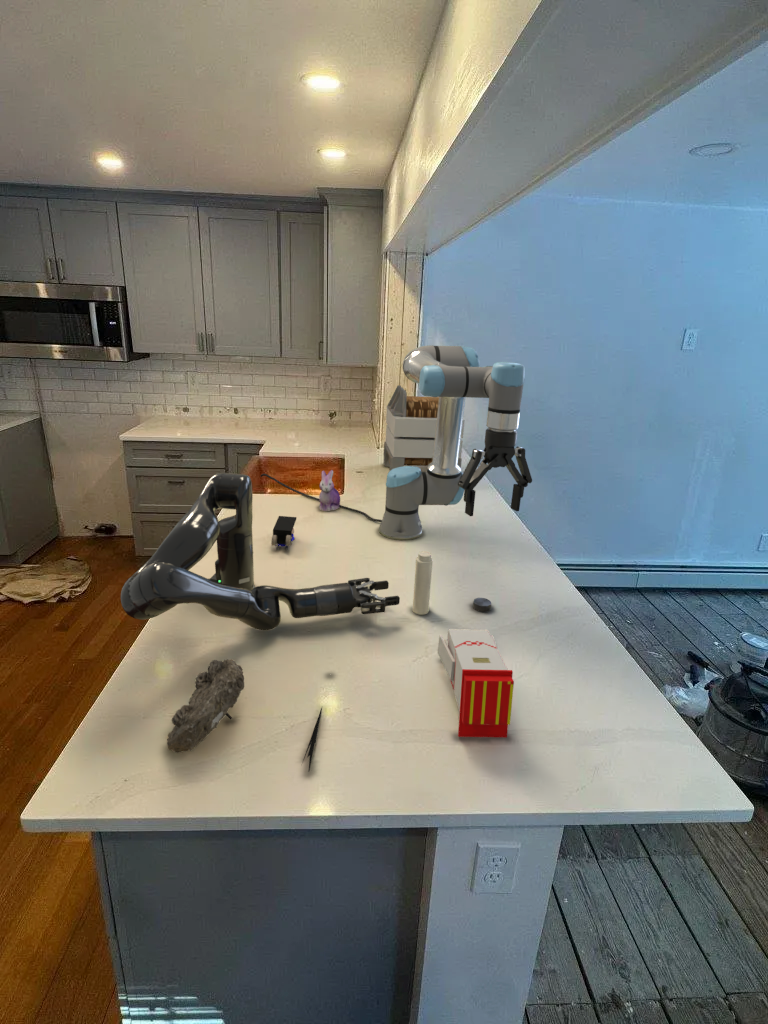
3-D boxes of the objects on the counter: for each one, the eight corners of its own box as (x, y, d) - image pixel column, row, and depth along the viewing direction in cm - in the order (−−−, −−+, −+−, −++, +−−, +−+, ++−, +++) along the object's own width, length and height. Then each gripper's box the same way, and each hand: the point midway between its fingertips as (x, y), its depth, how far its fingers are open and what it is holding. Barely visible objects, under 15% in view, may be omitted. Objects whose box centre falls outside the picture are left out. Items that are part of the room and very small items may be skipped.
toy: (488, 613, 130) (523, 677, 101) (484, 667, 133) (517, 744, 104) (435, 612, 130) (455, 676, 101) (432, 666, 133) (451, 743, 103)
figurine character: (291, 556, 181) (297, 534, 194) (291, 536, 177) (297, 514, 191) (270, 556, 181) (278, 533, 194) (269, 535, 177) (277, 513, 191)
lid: (469, 605, 153) (469, 600, 153) (482, 601, 156) (482, 596, 155) (481, 613, 150) (481, 607, 149) (494, 609, 152) (495, 603, 151)
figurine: (322, 513, 216) (323, 475, 211) (313, 504, 224) (313, 468, 219) (345, 510, 220) (346, 473, 215) (335, 502, 229) (335, 466, 223)
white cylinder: (430, 614, 148) (435, 556, 143) (414, 615, 147) (418, 557, 142) (426, 606, 152) (430, 550, 147) (410, 607, 151) (414, 550, 146)
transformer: (382, 463, 289) (386, 382, 275) (445, 464, 293) (451, 384, 279) (390, 482, 257) (394, 392, 243) (460, 483, 261) (468, 394, 247)
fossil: (192, 660, 117) (244, 628, 112) (224, 691, 120) (276, 661, 115) (142, 746, 98) (202, 712, 93) (182, 779, 101) (242, 748, 96)
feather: (331, 679, 122) (336, 673, 122) (307, 777, 96) (313, 769, 95) (324, 675, 122) (329, 669, 121) (298, 772, 95) (304, 764, 95)
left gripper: (325, 599, 148) (384, 592, 153) (338, 627, 136) (402, 618, 141) (325, 573, 146) (385, 567, 151) (339, 599, 133) (403, 591, 138)
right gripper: (535, 424, 144) (524, 503, 151) (448, 427, 135) (441, 511, 142) (553, 430, 138) (541, 512, 145) (464, 434, 129) (456, 521, 136)
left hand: (393, 592), depth 146 cm, fingers open, 8 cm apart
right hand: (492, 512), depth 144 cm, fingers open, 13 cm apart
